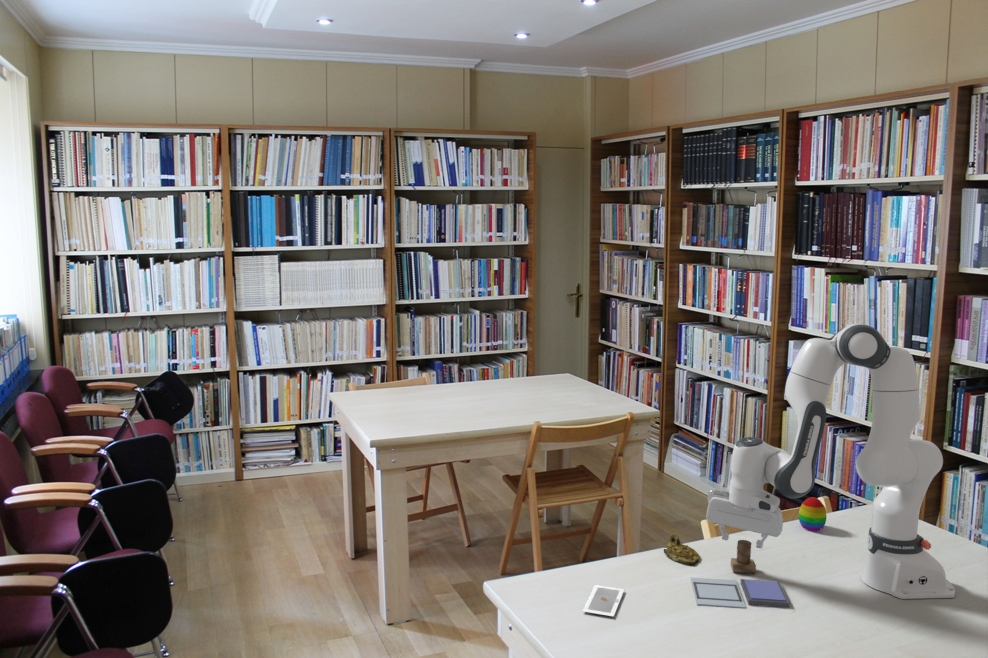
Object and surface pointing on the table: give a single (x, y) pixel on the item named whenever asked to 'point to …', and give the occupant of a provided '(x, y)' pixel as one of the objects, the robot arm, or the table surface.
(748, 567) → the stamp
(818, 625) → the table surface
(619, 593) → the touchpad
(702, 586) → the marked card
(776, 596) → the ink pad
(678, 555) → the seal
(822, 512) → the decorative egg
